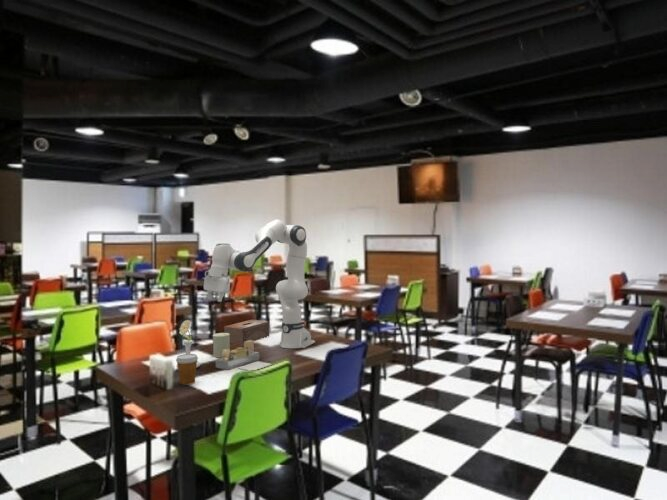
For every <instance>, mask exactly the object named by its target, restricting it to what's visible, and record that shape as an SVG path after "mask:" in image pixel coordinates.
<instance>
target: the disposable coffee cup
mask: <svg viewBox="0 0 667 500" xmlns="http://www.w3.org/2000/svg"><path fill="white" fill-rule="evenodd" d="M198 359H199V357H198V355H197V354H196V353H191V354H186V353H183V354H179V355H177V356H176V359H175V361H176V363H177V364H176V366H177V365H178V368H177V371H178V377H179V384H180V385H185V386H187V385H192V384H194V383H195V382H196V373H197V368H196V365H197V360H198Z"/></svg>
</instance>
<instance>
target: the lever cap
mask: <svg viewBox="0 0 667 500" xmlns="http://www.w3.org/2000/svg"><path fill="white" fill-rule="evenodd" d="M230 354H234V355H236V358H238V357H242V356H245V355H247V349H244V347H241V346H240V347H236V348H234V349H230Z"/></svg>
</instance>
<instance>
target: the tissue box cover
mask: <svg viewBox="0 0 667 500" xmlns="http://www.w3.org/2000/svg"><path fill="white" fill-rule="evenodd" d="M223 329H224V332H223V333H229V334H230V344H234V345H241V346H242V345H243V346H244V342H245V341H248V340H252V341H254V342H255V341H259V340H262V339H265V338H268V337H267V336H269V337H270V321H267V320H259V319H258V320H257V319H250V320H244V321H241V322H236V323H234V324H230V325H225V326H223ZM264 337H265V338H264ZM261 338H262V339H261Z"/></svg>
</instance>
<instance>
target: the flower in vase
mask: <svg viewBox="0 0 667 500" xmlns="http://www.w3.org/2000/svg"><path fill="white" fill-rule="evenodd" d="M190 327H191V321H190V320H189V319H186V320H184V321H183V322H182V323H181V325H180V327H179V329H178V330H179V334H180V335H181V336H184V337H185V338H186V340H182V343H183V345H184V348H185V354H192V353H191V347H192V344H193V342H194V340H193V339H192V335H191V334H190V333H191V332H190V331H189V330H190ZM187 333H188V334H189V335H188V334H187ZM200 366H201V362H200V361H199V360H198V359H197V365H196V369H197V368H199V367H200ZM176 368H177V369H178V365H177V364H176Z"/></svg>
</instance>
